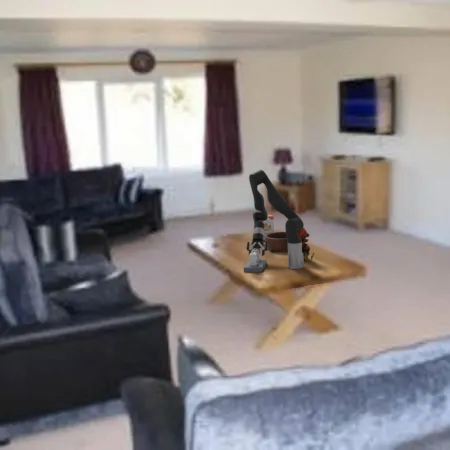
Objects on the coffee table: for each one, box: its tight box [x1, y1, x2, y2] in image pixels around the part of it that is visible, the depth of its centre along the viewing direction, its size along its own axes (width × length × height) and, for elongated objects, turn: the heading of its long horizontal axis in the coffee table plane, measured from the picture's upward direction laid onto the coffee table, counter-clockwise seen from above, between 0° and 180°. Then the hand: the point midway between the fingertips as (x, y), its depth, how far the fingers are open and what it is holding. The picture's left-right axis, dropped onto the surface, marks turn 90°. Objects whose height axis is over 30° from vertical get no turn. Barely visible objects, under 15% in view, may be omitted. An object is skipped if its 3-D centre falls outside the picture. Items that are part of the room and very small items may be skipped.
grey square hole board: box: [243, 258, 268, 273], centre depth 448 cm, size 22×12×3 cm, turn 168°
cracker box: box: [261, 214, 275, 243], centre depth 518 cm, size 14×6×21 cm, turn 105°
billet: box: [252, 248, 262, 262], centre depth 452 cm, size 4×4×11 cm
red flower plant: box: [297, 227, 315, 262], centre depth 459 cm, size 15×17×25 cm
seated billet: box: [249, 252, 258, 267], centre depth 442 cm, size 4×4×11 cm
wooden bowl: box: [265, 231, 288, 252], centre depth 496 cm, size 25×25×10 cm
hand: (256, 255), depth 452 cm, fingers open, 8 cm apart
